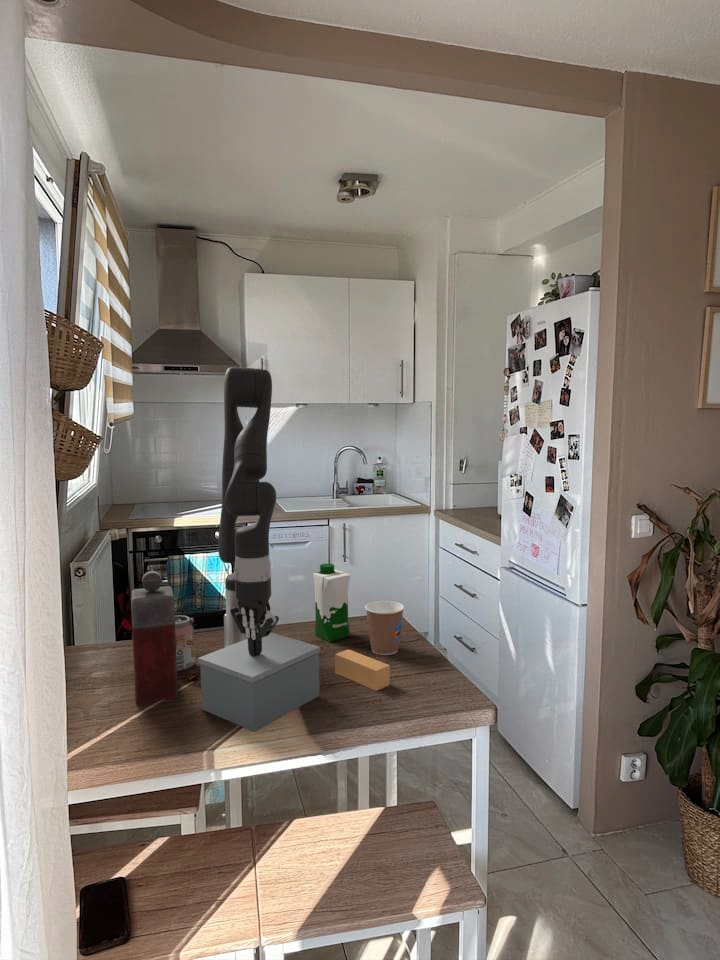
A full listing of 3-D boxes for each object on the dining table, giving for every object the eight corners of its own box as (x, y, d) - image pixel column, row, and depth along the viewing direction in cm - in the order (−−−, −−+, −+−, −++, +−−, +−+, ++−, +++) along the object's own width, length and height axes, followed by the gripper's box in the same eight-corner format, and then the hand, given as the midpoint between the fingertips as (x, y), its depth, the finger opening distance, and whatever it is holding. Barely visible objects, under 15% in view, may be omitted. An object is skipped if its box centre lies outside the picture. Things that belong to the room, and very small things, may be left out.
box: (201, 709, 140) (200, 664, 138) (268, 678, 155) (267, 637, 154) (253, 731, 130) (252, 683, 129) (319, 695, 146) (318, 652, 145)
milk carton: (335, 628, 190) (334, 561, 187) (354, 636, 183) (354, 567, 180) (310, 635, 184) (309, 566, 182) (329, 644, 177) (328, 572, 175)
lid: (198, 663, 138) (197, 657, 138) (266, 636, 154) (266, 631, 154) (252, 683, 128) (252, 677, 128) (319, 651, 144) (319, 646, 144)
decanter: (175, 677, 156) (171, 563, 153) (177, 697, 145) (173, 574, 142) (136, 682, 153) (130, 566, 150) (135, 703, 143) (129, 578, 139)
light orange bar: (335, 673, 158) (334, 654, 158) (348, 668, 161) (348, 649, 161) (376, 691, 148) (376, 670, 148) (389, 685, 151) (389, 665, 151)
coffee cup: (405, 657, 167) (405, 612, 166) (365, 657, 168) (364, 612, 166) (403, 643, 178) (403, 600, 176) (365, 643, 178) (365, 600, 176)
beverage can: (159, 660, 166) (157, 615, 165) (193, 656, 169) (191, 611, 168) (161, 674, 158) (159, 626, 156) (197, 669, 161) (195, 622, 159)
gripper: (218, 574, 139) (221, 653, 141) (262, 584, 131) (264, 667, 133) (244, 567, 145) (246, 642, 147) (288, 576, 137) (289, 656, 139)
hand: (255, 654), depth 140 cm, fingers closed
